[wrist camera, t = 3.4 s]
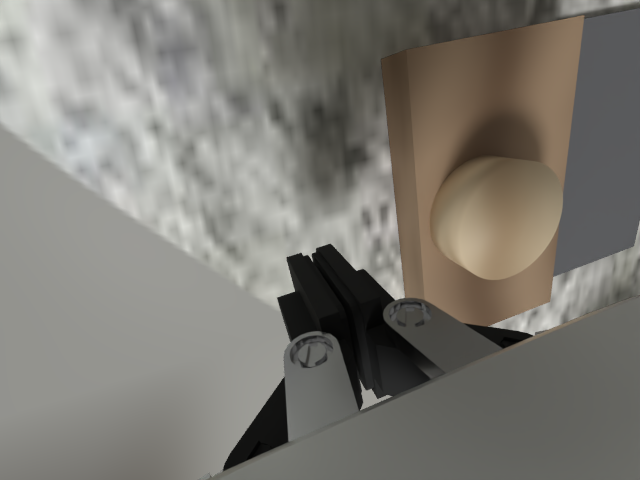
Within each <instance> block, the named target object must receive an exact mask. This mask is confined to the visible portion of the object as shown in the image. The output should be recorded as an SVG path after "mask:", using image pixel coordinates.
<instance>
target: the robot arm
mask: <svg viewBox="0 0 640 480" xmlns="http://www.w3.org/2000/svg"><path fill="white" fill-rule="evenodd" d="M312 259H313V262H312V260H311V259H310V257H309V256H308V255H306V256H303V255H302V253H299V254H296V255H293V256H290V257H287V262H288V266H289V270H290V274H291V277H292V281H293V285H294V289H295V292H293V293H290V294H287V295H284V296H281V297H278V298H277V299H278V303H279V306H280V309H281V313H282V316H283V319H284V323H285V326H286V329H287V332H288V335H289V339H290V342H291V343H290V344H289V345H288V346H287V348H286V350H285V353H284V373H285V377H284V378H283V379H282V381H281V382H280V384H279V385H278V387H277V388H276V390H275V391H274V392H273V394H272V395H271V397H270V398H269V399H268V401H267V402H266V404H265V405H264V406H263V408H262V409H261V411H260V412H259V413H258V415H257V416H256V418H255V419H254V421H253V422H252V424H251V425H250V426H249V428H248V429H247V431H246V432H245V434H244V435H243V436H242V438H241V439H240V440H239V442H238V443H237V445H236V446H235V448H234V449H233V450H232V452H231V453H230V455H229V457H228V459H227V461H226V462H225V465H224V469H223V470H221V471H220V472H219V473H217V474H216V475H214V476H213V477H211V475H210V473H208V474H206V475H204V476H203V477H201V478H200V479H198V480H640V295H639V296H635V297H631V298H628V299H626V300H623V301H620V302H618V303H615V304H612V305H609V306H607V307H604V308H601V309H599V310H596V311H593V312H591V313H588V314H586V315H583V316H581V317H579V318H576V319H574V320H571V321H569V322H567V323H564V324H562V325H559V326H557V327H554V328H552V329H549V330H545V331H539V332H535V336H533V335H531V334H528V333H524V332H519V331H513V330H507V329H500V328H493V327H486V326H480V325H473V324H466V323H462V322H460V321H458V320H457V319H455V318H454V317H452V316H450V315H449V314H447V313H446V312H444V311H443V310H441V309H439V308H438V307H436V306H435V305H433V304H431V303H430V302H428V301H425V300H423V299H418V298H402V299H398V300H396V301H395V300H394V299H393V298H392V297H391V296H390V295H389V294H388V293H387V292H386V291H385V290H384V289H383V288H382V287H381V286H380V285H379V284H378V283H377V282H376V281H375V280H374V279H373V278H372V277H371V276H370V275H369V274H368V273H367V272H366V271H365V270H364V269H361V270H358V271H356V270H355V269H354V268H353V267H352V266H351V265H350V264H349V263H348V262H347V261H346V259H345V258H344V257H343V256H342V255H341V254H340V253H339V252H338V251H337V250H336V249H335V248H334V247H333V246H332V245H331V244H328V245H325V246H322V247H318V248H316V253H312ZM360 381H361V382H362V384H363V386H364V388H365V389H366V390H369V389H371V388H372V390H373V392H374V394H375V395H376V397H377V399H379V398H381V397H383V396H386V395H390V396H393V397H390V398H388V399H386V400H384V401H381V402H379V403H377V404H374V405H372V406H370V407H368V408H365V409H363V410H361V411H360V409H361V407H362V404H363V399H362V395H361V392H362V390H361V384H360Z"/></svg>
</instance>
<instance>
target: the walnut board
mask: <svg viewBox="0 0 640 480" xmlns="http://www.w3.org/2000/svg"><path fill="white" fill-rule="evenodd" d="M583 23H584V15H582V16H577V17H572V18H567V19H562V20H556V21H551V22H546V23H541V24H536V25H531V26H525V27H520V28H515V29H510V30H505V31H500V32H494V33H489V34H484V35H479V36H474V37H468V38H463V39H458V40H453V41H448V42H443V43H437V44H432V45H427V46H422V47H417V48H412V49H406V50H404V51H401V52H399V53H396V54H393V55H391V56H388V57H386V58H383V59H381V65H382V75H383V84H384V94H385V104H386V114H387V124H388V133H389V143H390V153H391V163H392V172H393V182H394V192H395V202H396V212H397V221H398V231H399V241H400V251H401V261H402V270H403V280H404V290H405V298H418V299H423V300H425V301H428V302H430V303H431V304H433V305H435V306H436V307H438V308H439V309H441V310H443V311H444V312H446V313H447V314H449V315H450V316H452V317H454V318H455V319H457V320H458V321H460V322H462V323H466V324H473V325H480V326H486V327H487V326H490V325H492V324H495V323H497V322H500V321H502V320H505V319H507V318H510V317H512V316H515V315H517V314H520V313H522V312H525V311H527V310H530V309H533V308H535V307H538V306H540V305H543V304H545V303H548V302H550V298H551V289H552V281H553V273H554V265H555V256H556V248H557V240H558V231H559V224H558V227H557V230H556V232H555V234H554V236H553V238H552V240H551V241H550V243H549V245H548V246H547V247H546V249H545V250H544V251H543V253H542V254H541V255H540V256H539V257H538V258H537V259H536V260H535V261H534V262H533V263H532V264H531V265H530V266H528V267H527V268H526V269H524V270H523V271H521V272H519V273H518V274H516V275H513V276H511V277H508V278H505V279H500V280H487V279H483V278H480V277H478V276H476V275H475V274H473V273H471V272H470V271H468V270H466V269H465V268H463V267H462V266H460V265H458V264H457V263H455V262H453V261H452V260H450V259H448V258H447V257H445V256H444V255H443V254H441V253H440V252H439V251H438V249H437V248H436V246H435V245H434V243H433V240H432V237H431V234H430V212H431V208H432V204H433V201H434V199H435V196H436V194H437V192H438V190H439V189H440V187H441V185H442V184H443V182H444V181H445V180H446V178H447V177H448V176H449V175H450V174H451V173H452V172H453V171H454V170H455V169H456V168H458V167H459V166H460V165H462V164H463V163H465V162H467V161H469V160H471V159H473V158H476V157H480V156H490V155H491V156H498V157H506V158H514V159H521V160H529V161H536V162H540V163H543V164H545V165H546V166H548V167H549V168H551V169H552V170H553V171H554V173H555V174H556V175H557V177H558V179H559V181H560V184H561V187H562V193H563V190H564V181H565V173H566V165H567V156H568V148H569V140H570V131H571V123H572V115H573V106H574V98H575V90H576V81H577V73H578V65H579V56H580V48H581V40H582V32H583ZM559 223H560V222H559Z"/></svg>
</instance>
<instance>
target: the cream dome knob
mask: <svg viewBox="0 0 640 480" xmlns="http://www.w3.org/2000/svg"><path fill="white" fill-rule="evenodd" d="M562 208H563V193H562V187H561V184H560V181H559V179H558V177H557V175H556V174H555V173H554V171H553V170H552V169H551V168H549V167H548V166H546V165H545V164H543V163H540V162H536V161H529V160H521V159H514V158H506V157H498V156H491V155H490V156H480V157H476V158H473V159H471V160H469V161H467V162H465V163H463V164H462V165H460V166H459V167H458V168H456V169H455V170H454V171H453V172H452V173H451V174H450V175H449V176H448V177H447V178H446V180H445V181H444V182H443V184H442V185H441V187H440V189H439V190H438V192H437V194H436V196H435V199H434V201H433V204H432V208H431V212H430V234H431V237H432V240H433V243H434V245H435V246H436V248H437V249H438V251H439V252H440V253H441V254H443V255H444V256H445V257H447V258H448V259H450V260H452V261H453V262H455V263H457V264H458V265H460V266H462V267H463V268H465V269H466V270H468V271H470V272H471V273H473V274H475V275H476V276H478V277H480V278H483V279H487V280H500V279H505V278H508V277H511V276H513V275H516V274H518V273H519V272H521V271H523V270H524V269H526V268H527V267H528V266H530V265H531V264H532V263H533V262H534V261H535V260H536V259H537V258H538V257H539V256H540V255H541V254H542V253H543V251H544V250H545V249H546V247H547V246H548V245H549V243H550V241H551V240H552V238H553V236H554V234H555V232H556V230H557V227H558V224H559V222H560V218H561V214H562Z"/></svg>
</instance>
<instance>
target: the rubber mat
mask: <svg viewBox="0 0 640 480" xmlns="http://www.w3.org/2000/svg"><path fill="white" fill-rule="evenodd" d="M639 221H640V8H637V9H632V10H627V11H622V12H617V13H611V14H606V15H601V16H596V17H591V18H586V19H584V23H583V32H582V40H581V48H580V56H579V65H578V73H577V81H576V90H575V98H574V106H573V115H572V123H571V131H570V140H569V148H568V156H567V165H566V173H565V181H564V190H563V208H562V214H561V218H560V223H559V231H558V240H557V248H556V256H555V265H554V273H553V277H554V276H557V275H559V274H562V273H565V272H567V271H570V270H572V269H575V268H578V267H580V266H583V265H586V264H588V263H591V262H594V261H596V260H599V259H601V258H604V257H607V256H609V255H612V254H615V253H617V252H620V251H623V250H625V249H628V248H631V247H633V246H634V243H635V239H636V234H637V230H638V226H639Z"/></svg>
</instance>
